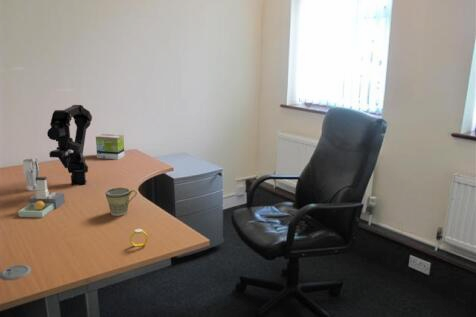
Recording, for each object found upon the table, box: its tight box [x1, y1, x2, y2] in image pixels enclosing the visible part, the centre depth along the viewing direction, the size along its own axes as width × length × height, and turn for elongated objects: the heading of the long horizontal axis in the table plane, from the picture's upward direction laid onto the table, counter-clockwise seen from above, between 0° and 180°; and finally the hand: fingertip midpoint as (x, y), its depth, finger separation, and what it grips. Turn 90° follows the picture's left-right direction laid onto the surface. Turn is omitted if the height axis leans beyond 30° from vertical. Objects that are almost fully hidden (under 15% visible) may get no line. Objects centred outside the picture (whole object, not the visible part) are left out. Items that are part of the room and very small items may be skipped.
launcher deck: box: [28, 191, 66, 210], centre depth 189 cm, size 8×12×6 cm, turn 86°
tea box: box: [95, 133, 125, 161], centre depth 275 cm, size 15×10×15 cm
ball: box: [34, 201, 45, 210], centre depth 183 cm, size 4×4×4 cm
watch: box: [129, 228, 149, 248], centre depth 150 cm, size 6×3×6 cm, turn 108°
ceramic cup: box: [105, 187, 138, 217], centre depth 180 cm, size 13×10×10 cm
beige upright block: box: [35, 176, 50, 199], centre depth 184 cm, size 2×4×9 cm, turn 86°
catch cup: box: [17, 203, 55, 218], centre depth 181 cm, size 10×10×2 cm
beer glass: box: [22, 158, 40, 192], centre depth 210 cm, size 7×7×15 cm
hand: (66, 167), depth 206 cm, fingers closed
